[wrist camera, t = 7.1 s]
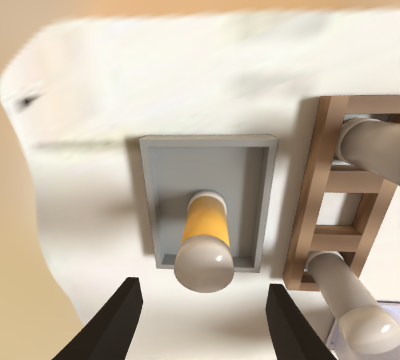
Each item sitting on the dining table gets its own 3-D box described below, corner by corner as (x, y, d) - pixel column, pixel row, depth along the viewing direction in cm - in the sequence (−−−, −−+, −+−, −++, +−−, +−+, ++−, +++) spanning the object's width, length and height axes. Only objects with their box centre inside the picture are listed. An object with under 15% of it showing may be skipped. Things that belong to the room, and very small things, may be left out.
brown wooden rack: (343, 281, 22) (352, 292, 21) (282, 278, 23) (287, 289, 22) (414, 94, 15) (436, 94, 13) (320, 96, 15) (331, 95, 14)
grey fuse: (332, 269, 22) (392, 355, 15) (299, 268, 22) (342, 352, 15) (341, 244, 21) (413, 324, 13) (305, 243, 21) (356, 322, 13)
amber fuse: (225, 222, 20) (232, 294, 12) (189, 221, 20) (175, 291, 13) (226, 189, 18) (235, 249, 11) (188, 188, 19) (171, 247, 11)
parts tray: (255, 258, 22) (259, 272, 20) (161, 254, 23) (156, 268, 21) (271, 134, 17) (278, 139, 15) (146, 135, 17) (138, 139, 15)
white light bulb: (369, 161, 17) (488, 208, 10) (326, 160, 17) (410, 206, 10) (384, 117, 16) (538, 133, 8) (337, 117, 16) (445, 133, 8)
